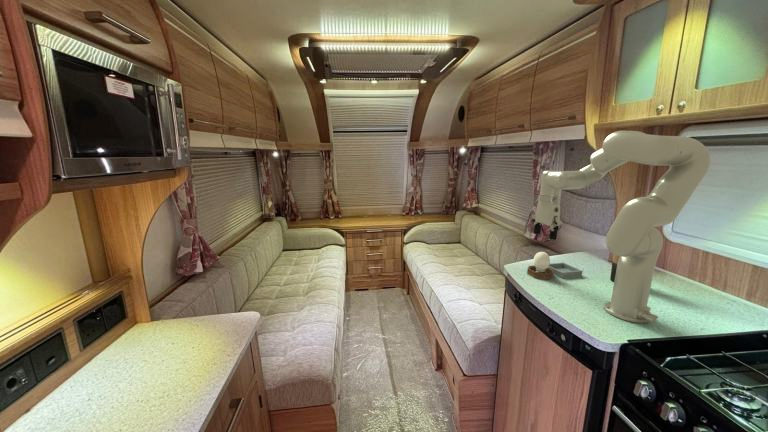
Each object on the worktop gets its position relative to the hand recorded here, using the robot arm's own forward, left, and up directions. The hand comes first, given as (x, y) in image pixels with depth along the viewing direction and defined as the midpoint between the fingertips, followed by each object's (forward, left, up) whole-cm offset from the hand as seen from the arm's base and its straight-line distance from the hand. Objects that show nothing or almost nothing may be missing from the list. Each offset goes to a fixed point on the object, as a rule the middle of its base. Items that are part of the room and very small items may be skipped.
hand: (544, 236), depth 133 cm
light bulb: (0, 0, -18) cm, 19 cm away
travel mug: (-14, -29, -18) cm, 37 cm away
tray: (0, -12, -18) cm, 22 cm away
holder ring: (0, 0, -18) cm, 18 cm away
